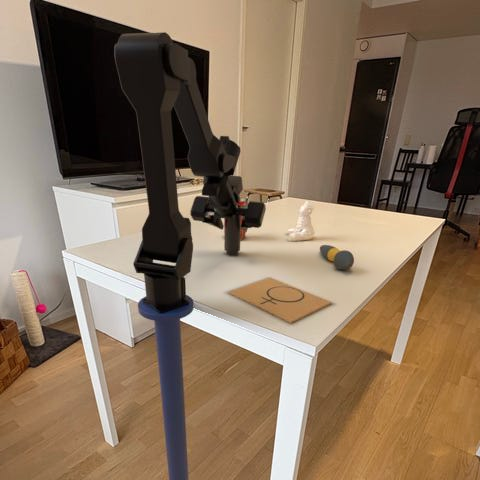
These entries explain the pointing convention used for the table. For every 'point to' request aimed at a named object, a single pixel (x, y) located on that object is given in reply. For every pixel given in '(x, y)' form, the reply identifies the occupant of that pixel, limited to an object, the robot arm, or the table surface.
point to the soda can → (242, 203)
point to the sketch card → (280, 299)
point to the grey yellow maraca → (338, 257)
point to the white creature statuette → (303, 224)
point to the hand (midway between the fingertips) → (234, 229)
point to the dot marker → (232, 235)
